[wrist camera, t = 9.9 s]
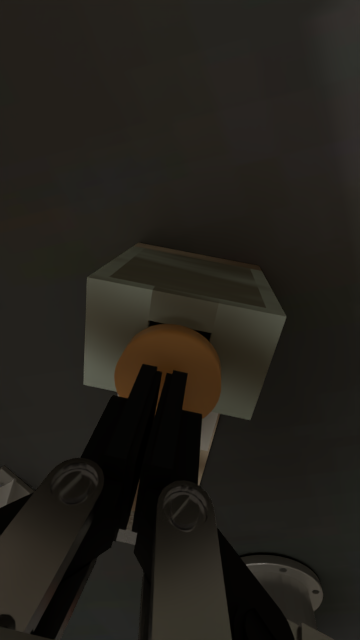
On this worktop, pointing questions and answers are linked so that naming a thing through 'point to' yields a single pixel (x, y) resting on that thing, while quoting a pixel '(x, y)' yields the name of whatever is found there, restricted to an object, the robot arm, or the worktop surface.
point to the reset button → (173, 364)
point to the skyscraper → (11, 487)
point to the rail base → (184, 321)
